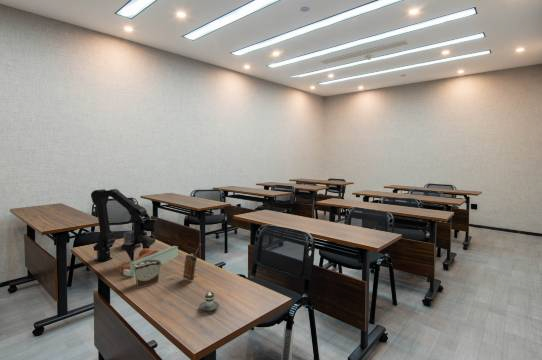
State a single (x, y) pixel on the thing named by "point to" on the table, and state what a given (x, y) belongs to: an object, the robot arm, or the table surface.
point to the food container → (147, 272)
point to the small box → (129, 238)
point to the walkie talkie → (189, 266)
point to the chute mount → (155, 258)
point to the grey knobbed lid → (209, 302)
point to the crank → (142, 254)
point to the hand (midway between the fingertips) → (139, 258)
